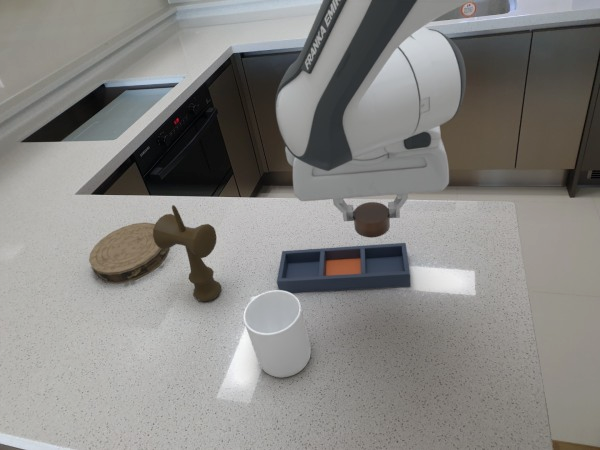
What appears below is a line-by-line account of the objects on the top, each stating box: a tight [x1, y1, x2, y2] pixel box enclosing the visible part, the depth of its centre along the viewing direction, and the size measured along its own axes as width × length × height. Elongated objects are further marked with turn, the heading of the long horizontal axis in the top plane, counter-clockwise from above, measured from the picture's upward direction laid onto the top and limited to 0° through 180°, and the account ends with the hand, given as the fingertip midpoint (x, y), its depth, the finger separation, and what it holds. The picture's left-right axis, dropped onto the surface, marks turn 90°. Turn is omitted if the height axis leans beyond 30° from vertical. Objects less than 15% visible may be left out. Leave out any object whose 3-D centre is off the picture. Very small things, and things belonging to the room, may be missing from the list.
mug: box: [242, 289, 312, 378], centre depth 69 cm, size 12×8×10 cm
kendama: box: [153, 204, 222, 302], centre depth 79 cm, size 6×10×20 cm, turn 61°
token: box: [353, 201, 391, 239], centre depth 65 cm, size 5×5×2 cm
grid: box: [276, 242, 411, 294], centre depth 82 cm, size 8×23×3 cm, turn 85°
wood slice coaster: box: [88, 222, 170, 284], centre depth 97 cm, size 16×16×3 cm
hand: (371, 217), depth 65 cm, fingers closed on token, 5 cm apart
